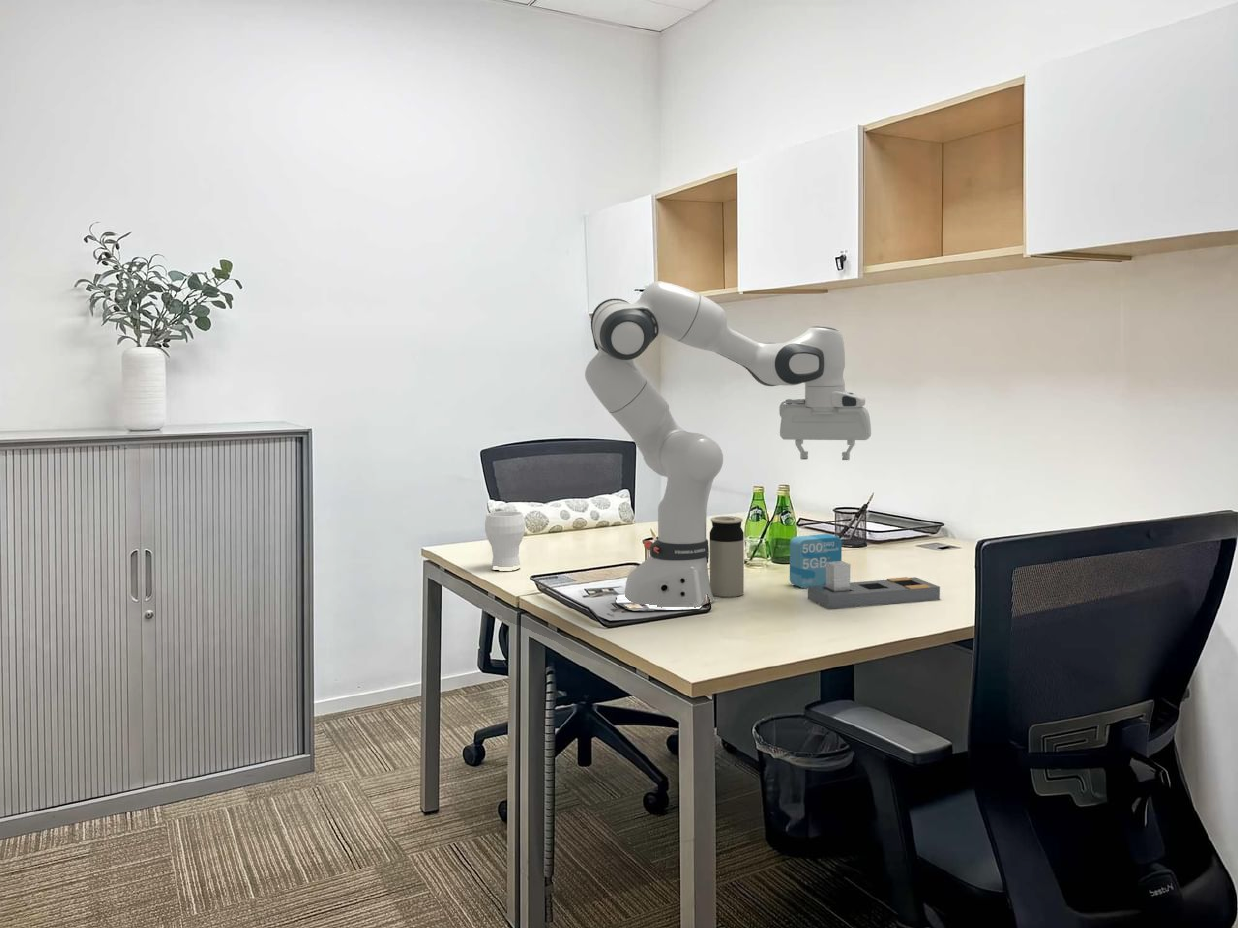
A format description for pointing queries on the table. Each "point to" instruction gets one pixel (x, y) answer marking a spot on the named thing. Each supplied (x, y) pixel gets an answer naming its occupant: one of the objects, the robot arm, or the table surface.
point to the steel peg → (837, 576)
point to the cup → (505, 536)
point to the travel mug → (726, 557)
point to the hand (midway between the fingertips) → (824, 459)
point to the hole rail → (875, 593)
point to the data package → (812, 558)
